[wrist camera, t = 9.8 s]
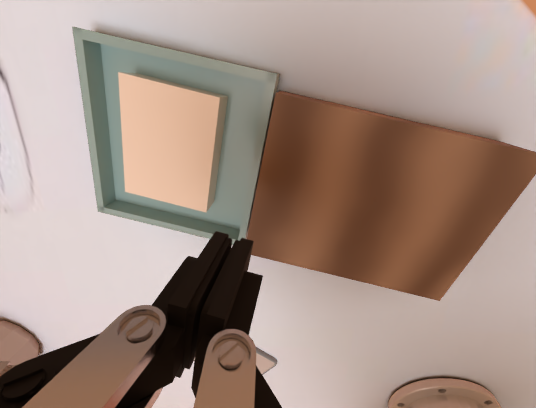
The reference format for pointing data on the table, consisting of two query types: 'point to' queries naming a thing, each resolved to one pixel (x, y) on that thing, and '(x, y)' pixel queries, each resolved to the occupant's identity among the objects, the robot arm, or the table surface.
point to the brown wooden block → (379, 195)
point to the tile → (170, 140)
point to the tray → (190, 74)
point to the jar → (16, 344)
